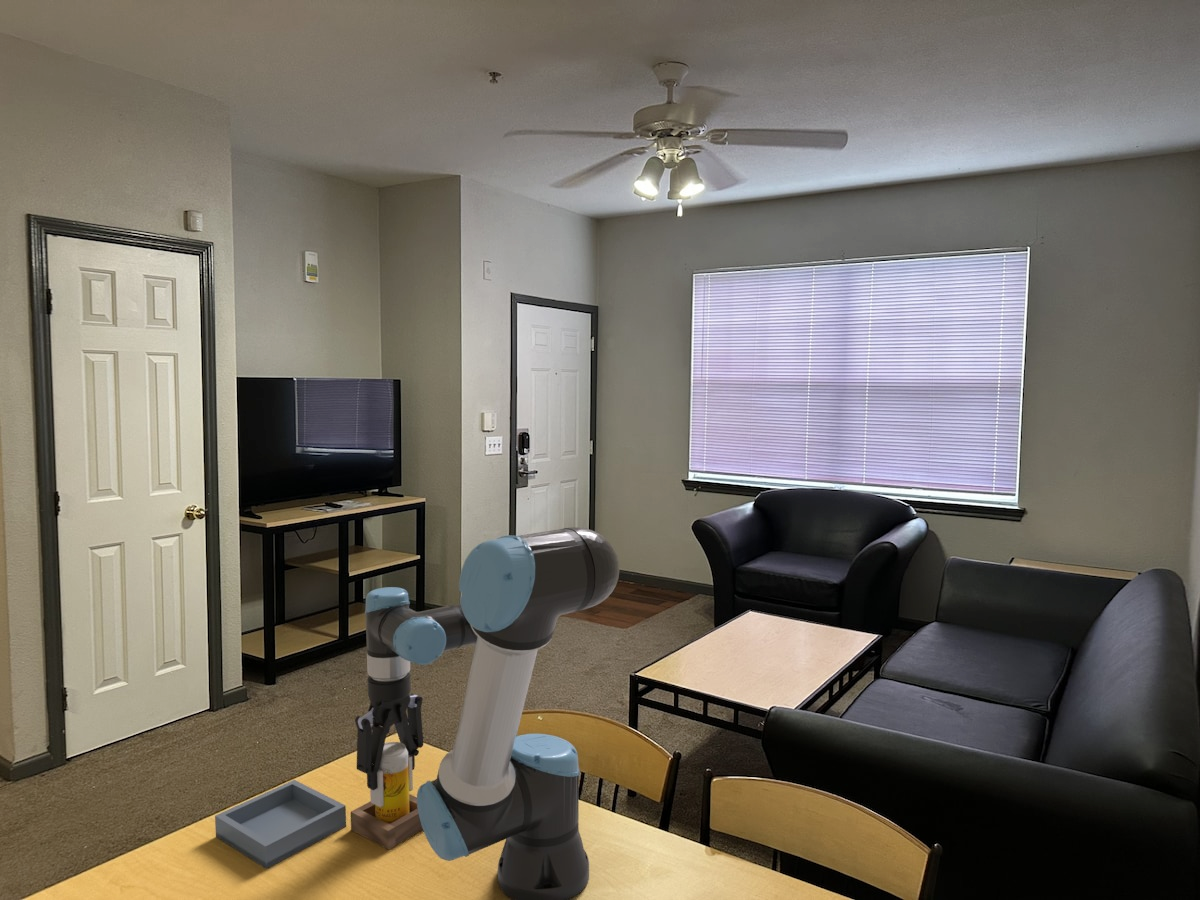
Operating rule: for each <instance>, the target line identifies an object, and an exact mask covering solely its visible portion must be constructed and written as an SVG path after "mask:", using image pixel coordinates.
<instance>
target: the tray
mask: <svg viewBox="0 0 1200 900" xmlns="http://www.w3.org/2000/svg"><path fill="white" fill-rule="evenodd" d="M346 808H347V806H346V805H345V804H343V803H341V802H340V801H338V800H335V799H334V798H331V797H329V796H328V795H325V794H323V793H322V792H320V791H318V790H316V789H313V788H312V787H310V786H307V785H305V784H303V783H301V782H299V781H298V780H295V779H293V780H291V781H288V782H286V783H284V784H282V785H280V786H278V787H275V788H273V789H271V790H269V791H267V792H264V793H262V794H260V795H258V796H255V797H252V798H251V799H249V800H246V801H245V802H242V803H240V804H238V805H236V806H233V807H232V808H229V809H226V810H225V811H222V812H220V813H218V814H216V815H214V823H215V824H214V825H215V837H216V838H217V839H218V840H220V841H222V842H223V843H225V844H226V845H228V847H229V846H230V848H232V849H235V851H237V852H239V853H241V854H242V855H244V856H246V857H247V858H248V859H250V860H252V862H255V863H256V864H258V865H259V866H261V867H263V868H264V869H266V870H268V869H269V868H271V867H273V866H274V865H277V864H278V863H280V862H282V861H284V860H286V859H288V858H290V857H291V856H293V855H296V854H297V853H299V852H301V851H303V850H304V849H306V848H308V847H310V846H312V845H314V844H316V843H318V842H319V841H322V840H323V839H325V838H327V837H329V836H331V835H332V834H334V833H337V832H338V831H340V830H342V829H343V828H345V827H347V812H346V811H347V809H346Z"/></svg>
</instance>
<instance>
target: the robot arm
mask: <svg viewBox="0 0 1200 900" xmlns="http://www.w3.org/2000/svg"><path fill="white" fill-rule="evenodd" d="M460 570H461V571H460V576H459V583H458V591H459V593H461V597H460V598H459V603H458V604H454V605H453V604H452V605H447V606H442V607H441V606H440V607H438V608H437V607H435V608H432V609H427V610H422V611H416V610H413V609H412V608H410V604H411V602H410V599H409V597H410V596H409V592H408V591H407V590H406V589H405V588H401V587H395V586H394V587H393V586H390V587H389V586H388V587H387V586H386V587H380V588H375V589H373V590H371V591H369V592H368V593H367V594H366V597H365V609H364V610H365V611H364V614H365V632H366V636H365V637H366V663H367V665H366V666H367V667H366V669H367V672H366V673H367V675H368V677H367V696H368V699H369V707H368V711H367V713H365V714H363V716H361V715H357V716H356V717H355V719H354V722H355V725H356V728H357V739H356V741H357V743H356V769H357V771H360V772H361V773H364V774H366V782H367V783H366V786H367V789H369V792H370V801H371V803H373V804H375V805H377V806H379V807H382V806H384V795H383V771H382V770H380V769H379V767H380V762H381V758H382V753H383V748H384V744H385V743H386V739H387V734H389V733H390V728H391V727H392V726H393V725H394V727H395V730H396V734H397V736H398V739H399V742H400V743H403V744H404V745H405V746H406V749H407V751H408V769H409V792H411V791H413V790H414V787H413V786H414V785H413V783H414V782H413V781H414V780H413V776H414V775H413V771H414V770H415V767H416V764H415V763H416V761H415V760H416V759H415V757H417V756H418V755H419V753H420V750H418V749H422V748H423V746H424V733H423V722H422V720H423V719H422V705H423V700H424V699H423V697H422V696H420V695H418V694H414V693H411V689H412V688H411V684H412V683H411V682H412V681H411V673H410V671H411V663H413V664H414V665H421V666H422V665H423V666H424V665H429V664H432V663H433V662H434V661H436V660H437V659H439V658H440V657H441V655H442V654H443V653H444V652H448V651H451V650H452V651H453V650H456V649H460V648H462V647H467V646H472V645H475V647H474V652H473V656H472V660H471V661H472V662H471V666H470V670H469V675H468V678H467V679H468V680H467V685H466V689H465V694H464V699H463V703H462V706H461V707H462V708H461V712H460V715H459V717H460V718H459V722H458V727H457V731H456V735H455V741H454V744H453V749H451V750H450V751H449V752H447V753H446V754H445V756H444V757H442V759H441V761H440V763H439V766H438V767H439V768H438V772H437V776H436V778H435V779H434V780H426V782H425V783H423V784H421V785H420V786H419V788H418V789H417V794H416V797H417V808H418V813H419V818H420V821H421V825H422V828H423V830H422V832H423V833H424V836H425V838H426V840H427V842H428V844H429V846H430V848H431V849H432V851H433V852H434V854H436V855H437V856H438V857H439V858H440V859H442V860H445V861H446V862H447V861H448V862H449V861H454V860H456V859H459V858H463V857H467V858H468V857H469V856H470V855H471V854H474V853H477V852H479V851H481V850H483V849H485V848H487V847H491V846H493V845H495V844H497V843H499V842H502V841H504V844H503V848H502V851H501V853H500V858H499V860H498V864H497V883H498V886H499V888H500V890H501V891H502V892H503V893H504V894H505V895H506V896H507V897H509V898H510V899H512V900H570V899H573V898H575V897H576V896H578V894H580V893H581V892H582V891H583V890H584V889H585V888H586V886H587V885H588V883H589V880H590V861H589V857H588V853H587V852H586V850H585V848H584V843H583V840H582V836H581V834H580V829H579V815H580V814H579V802H580V801H579V785H580V784H579V779H580V778H579V777H580V767H579V764H580V763H579V756H578V752H577V749H576V747H575V746H574V745H573V744H572V743H570V742H569V741H568V740H566V739H564V738H561V737H559V736H556V735H551V734H545V733H526V734H521V735H517V734H518V732H519V731H518V730H519V728H520V727H519V726H520V723H521V719H522V715H523V711H524V707H525V702H526V699H527V696H528V695H527V694H528V691H529V687H530V686H529V685H530V682H531V678H532V675H533V671H534V667H535V664H536V663H535V662H536V658H537V655H538V650H540V649H543V648H544V647H546V646H547V645H548V644H549V643H550V642H551V641H552V639H553V636H554V632H555V628H556V624H557V620H558V618H560V616H562V615H567V614H572V613H575V612H580V611H583V610H587V609H590V608H593V607H594V606H595V607H596V606H597V605H599V604H601V603H602V602H604V601H605V600H606V599H608V598H609V596H610V595H611V594H612V593H613V591H614V589H615V588H616V586H617V583H618V581H619V577H620V576H619V575H620V562H619V557H618V555H617V552H616V549H615V548H614V547H613V545H612V544H611V542H610V541H608V539H607V538H605V536H603V535H602V534H600V533H598V532H596V531H595V530H592V529H588V528H584V527H574V526H571V527H565V528H564V527H563V528H559V529H553V530H547V531H541V532H534V533H533V532H532V533H528V534H522V535H521V534H520V535H513V534H512V535H511V534H510V535H509V534H508V535H503V536H500V537H497V538H495V539H490V540H486V541H483V542H481V543H478V544H477V545H476V546H475V547H473V549H471V551H470V552H469V553H468V555H467V557H466V559H465V560H464V562H463V564H462V568H461V569H460Z"/></svg>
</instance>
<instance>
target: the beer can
mask: <svg viewBox="0 0 1200 900" xmlns="http://www.w3.org/2000/svg"><path fill="white" fill-rule="evenodd" d="M379 769H380V770H382V771H383V795H384V806H382V807H379V806H377V805H375V817H376V818H378V819H380V820H382V821H384V822H386V823H388V824H391V823H393V822H394V821H396V820H398V819H400V818H402V817H403V816H405V815H407V814H409V813H410V812H409V794H410V791H409V769H408V751H407V749H406V746H405V745H404V744H403V743H400V741H389V742H385V744H384V748H383V753H382V758H381V762H380V767H379Z"/></svg>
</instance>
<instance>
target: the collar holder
mask: <svg viewBox="0 0 1200 900" xmlns="http://www.w3.org/2000/svg"><path fill="white" fill-rule="evenodd" d="M409 812H410V813H409V814H407V815H405V816H403V817H402V818H400V819H398V820H396V821H394V822H393V823H391V824H388V823H386V822H384V821H382V820H380V819H378V818H376V817H375V804H373V803H371V800H370V801H368V802H367V803H365V804H362V805H361V806H359V807H356V808H355V809H353V810H352V811H350V830H351V831H352V832H354V833H356V834H358V835H360V836H362V837H364V838H365V839H367V840H370V841H371V842H372V843H374V844H376V845H379V846H380V847H382V848H384V849H386V850H388V851H389V850H391V849H393V848H394V847H396V846H397V845H400V844H401V843H402V842H403V843H404V841H406V840H408V839H409V838H412V837H413V836H415V835H417V834H418V833H420V832H421V831H423V828H422V825H421V821H420V818H419V813H418V808H417V796H415V795H412V794H410V793H409Z"/></svg>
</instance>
